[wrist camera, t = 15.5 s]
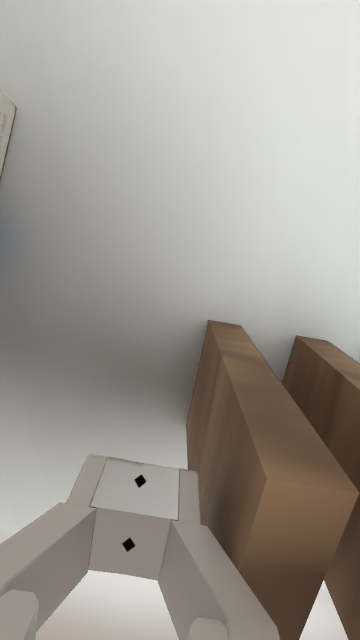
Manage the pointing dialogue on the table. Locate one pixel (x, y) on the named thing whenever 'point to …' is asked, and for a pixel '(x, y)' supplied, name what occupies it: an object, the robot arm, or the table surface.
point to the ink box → (5, 125)
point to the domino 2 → (334, 451)
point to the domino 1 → (264, 478)
